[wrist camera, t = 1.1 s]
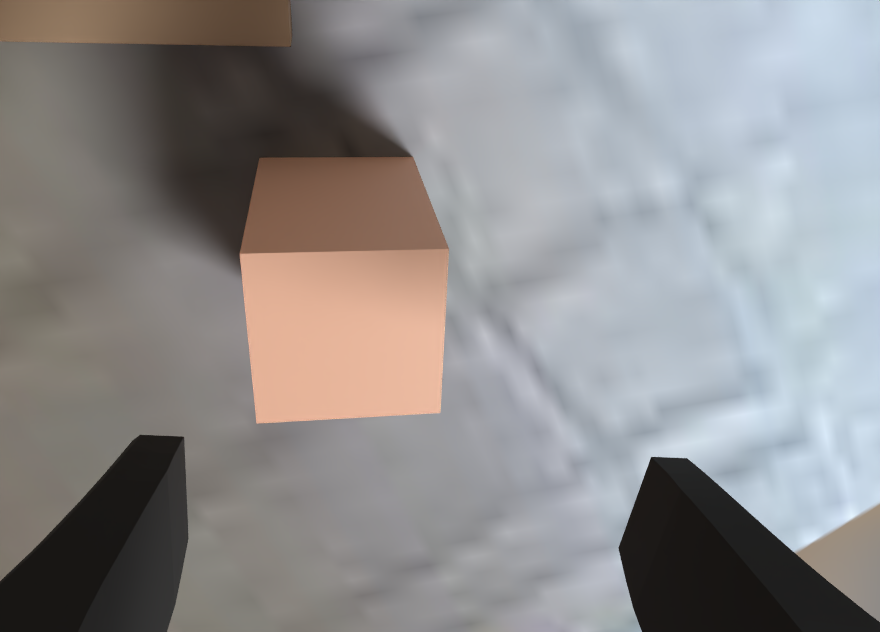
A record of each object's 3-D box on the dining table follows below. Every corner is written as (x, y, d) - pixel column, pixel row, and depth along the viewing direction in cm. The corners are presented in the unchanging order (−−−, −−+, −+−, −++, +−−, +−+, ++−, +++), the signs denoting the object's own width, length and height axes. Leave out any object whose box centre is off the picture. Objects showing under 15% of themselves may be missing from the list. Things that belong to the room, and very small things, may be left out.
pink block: (270, 293, 21) (256, 423, 16) (259, 157, 19) (239, 253, 14) (409, 289, 21) (440, 413, 16) (413, 156, 20) (448, 248, 14)
